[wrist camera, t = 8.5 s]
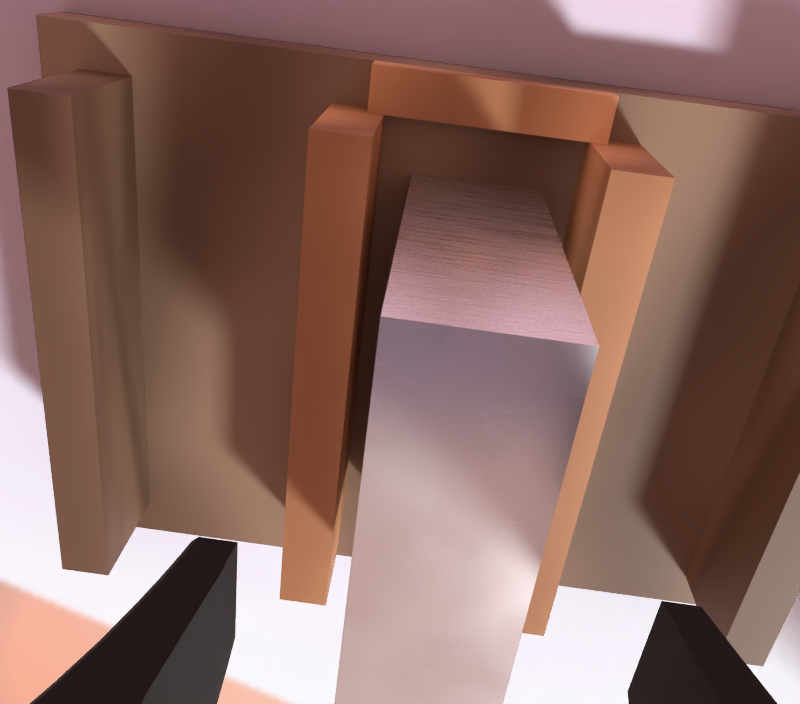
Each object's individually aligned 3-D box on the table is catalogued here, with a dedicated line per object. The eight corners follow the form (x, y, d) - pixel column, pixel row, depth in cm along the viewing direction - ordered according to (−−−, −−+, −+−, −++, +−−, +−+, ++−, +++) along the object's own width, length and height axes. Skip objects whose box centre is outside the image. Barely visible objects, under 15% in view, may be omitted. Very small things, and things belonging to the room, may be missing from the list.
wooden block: (476, 500, 22) (486, 765, 14) (371, 486, 22) (330, 743, 14) (541, 190, 17) (598, 346, 10) (411, 173, 17) (380, 315, 10)
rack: (924, 127, 17) (1052, 172, 14) (731, 582, 24) (781, 696, 20) (61, 12, 18) (-46, 24, 14) (100, 494, 24) (34, 592, 20)
